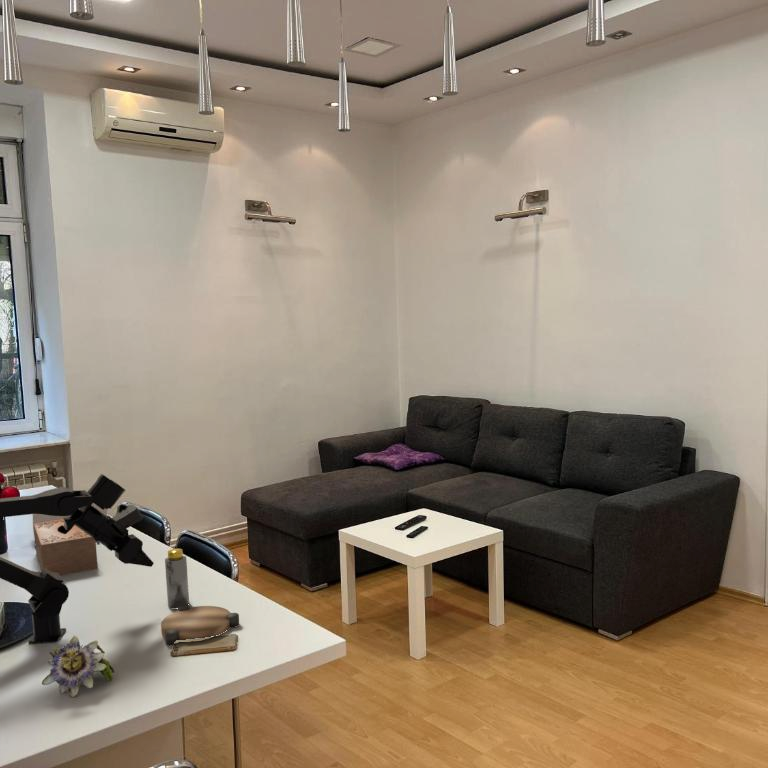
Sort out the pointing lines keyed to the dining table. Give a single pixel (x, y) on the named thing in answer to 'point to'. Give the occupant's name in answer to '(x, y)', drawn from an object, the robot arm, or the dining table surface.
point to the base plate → (197, 622)
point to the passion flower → (77, 666)
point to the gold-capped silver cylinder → (176, 578)
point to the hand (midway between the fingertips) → (146, 560)
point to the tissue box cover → (64, 548)
